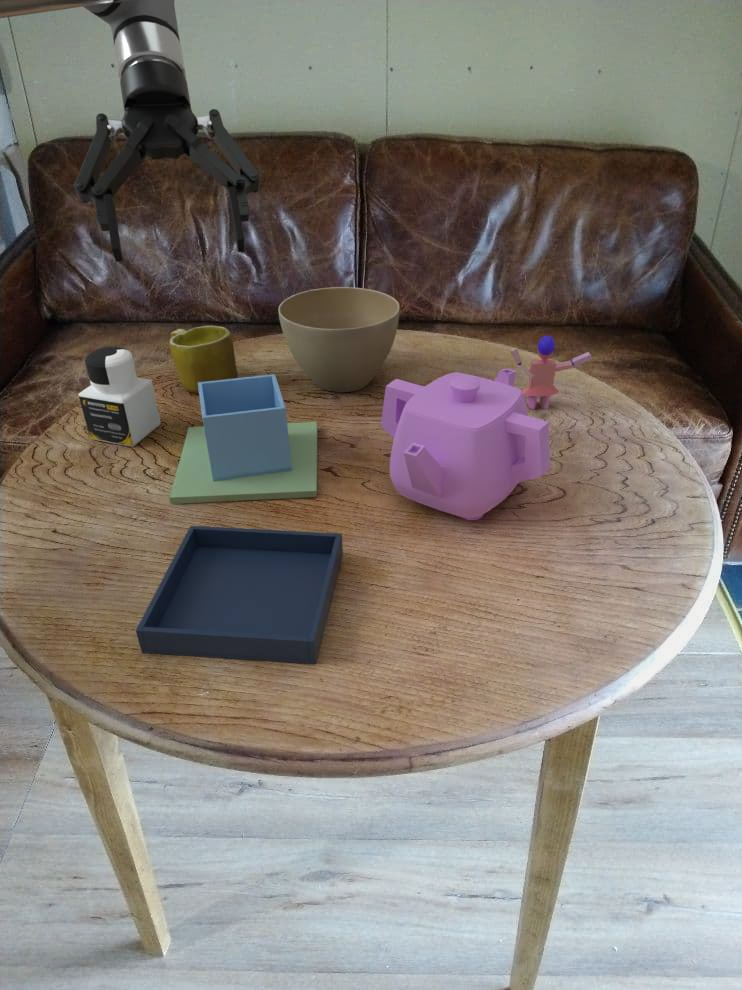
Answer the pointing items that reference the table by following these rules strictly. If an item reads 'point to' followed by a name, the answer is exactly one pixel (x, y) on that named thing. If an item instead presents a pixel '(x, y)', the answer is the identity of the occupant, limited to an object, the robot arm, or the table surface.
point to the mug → (203, 355)
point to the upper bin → (245, 427)
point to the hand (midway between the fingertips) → (180, 250)
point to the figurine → (544, 372)
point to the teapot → (463, 441)
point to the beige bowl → (340, 334)
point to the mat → (298, 483)
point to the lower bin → (244, 595)
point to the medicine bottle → (117, 399)
